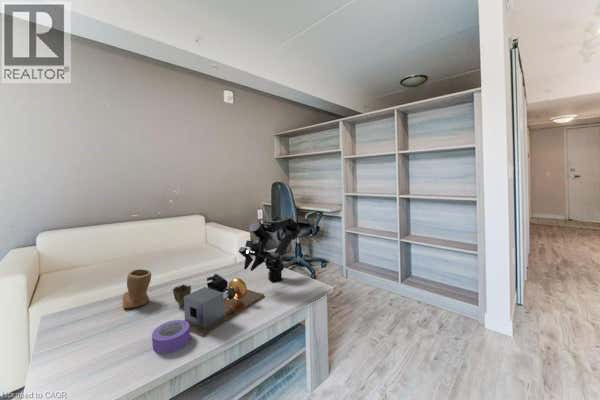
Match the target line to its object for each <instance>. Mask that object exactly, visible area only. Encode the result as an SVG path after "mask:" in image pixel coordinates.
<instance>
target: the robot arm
mask: <svg viewBox="0 0 600 400" xmlns="http://www.w3.org/2000/svg"><path fill="white" fill-rule="evenodd" d="M281 228H284V229H285V234H284V236H283V237H282V239H281V241H280V243H279V244H278V246H277V247H276V249H275V250H274V251H266V250H267V249H268V247H267V245H268V243H269V241H270V240H271V241H272V240H273V235H272V234H274V233H276V232H278V231H279V229H281ZM249 230H250V232H251V233H252V234H253V235H254V236H255V238H257V239H256V240H246V243H245V246H244V247H243V246H241V247H239V249H238V252H239V254H240V255H241V256H242V257H244V258H245V261H244V265H243V266H244V267H243V269H244V271H245V270H247V269H248V268H249V266H250V265H251V264H252V265H251V267H250V271H251V272H253V271H254V270H255V269H257V268H258V267H259V266H260V265H262V264H263V263H264V264H265V267H266V269H267V270H268V277H267V279H268V280H269V281H270V282H271V283H276V282H281V281H283V280H284V279H283V277H282V273H283V272H282V271H283V270H284V269H285V264H284V263H283V256H284V254H285V253H286V251H287V249H288V247H289V246H290V244H291V242H292V240H293V239H295V238H296V237H298V236H299V234H300V233H301V231H302V228H301V226H300V225H299V224H298V223H297V222H296V221H295V220H294V219H293V218H292V217H291V218H290V217H284V218H282V219H278V220H275V221H272V220H271V221H270V220H269V221H268V220H265V221H263V223H262V221H261V220H256V221H255V222H253V223H252V224H251V225H250V226H249ZM271 233H272V234H271ZM253 256H254V258H253ZM253 260H254V261H253ZM252 262H253V263H252Z"/></svg>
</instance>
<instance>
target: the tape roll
mask: <svg viewBox="0 0 600 400" xmlns="http://www.w3.org/2000/svg"><path fill="white" fill-rule="evenodd" d="M184 320H185V319H174V320H169V321H166V322H164V323H161V324H160V325H159V326H157V327H156V328H155V329H154V330H153V331H152V333H151V341H152V349H153V352H155V353H157V354H162V355H163V354H164V355H165V354H171V353H173V352H174V353H175V352H177V351H179V350H181V349H182V348H184V347H185V346H186V345H188V343H189V342H190V340H191V331H190V329H189V323H188V322H187V321H184Z"/></svg>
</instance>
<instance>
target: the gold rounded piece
mask: <svg viewBox="0 0 600 400" xmlns="http://www.w3.org/2000/svg"><path fill="white" fill-rule="evenodd" d="M247 290H248V288H247V284H246V283H245V281H244V280H243V279H241V278H238V277H237V278H234V279H232V280H230V281H229V283H228V286H227V288H226V289H224V291H223V298H224V300H225V299H227V300H230V299H232V298H234V299H237V300H239V299H241V298H243V297H244V296H245V295H246V293H247Z"/></svg>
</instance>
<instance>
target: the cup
mask: <svg viewBox="0 0 600 400" xmlns="http://www.w3.org/2000/svg"><path fill="white" fill-rule="evenodd" d="M191 290H192V285H190V284H188V286H187V284H182V285H179V286H175V287H174V288H173V289H172V292H173V296H174V300H175V301H176V303H177V304H178V306H180V307H184V296H186V295H188V294H191V293H192V292H191Z"/></svg>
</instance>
